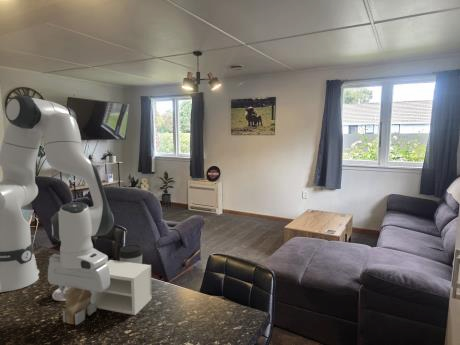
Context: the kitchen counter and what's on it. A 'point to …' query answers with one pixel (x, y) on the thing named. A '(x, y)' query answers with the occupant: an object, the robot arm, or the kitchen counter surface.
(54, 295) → the teacup
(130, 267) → the cabinet
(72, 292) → the door
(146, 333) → the kitchen counter surface
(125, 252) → the coffee cup
